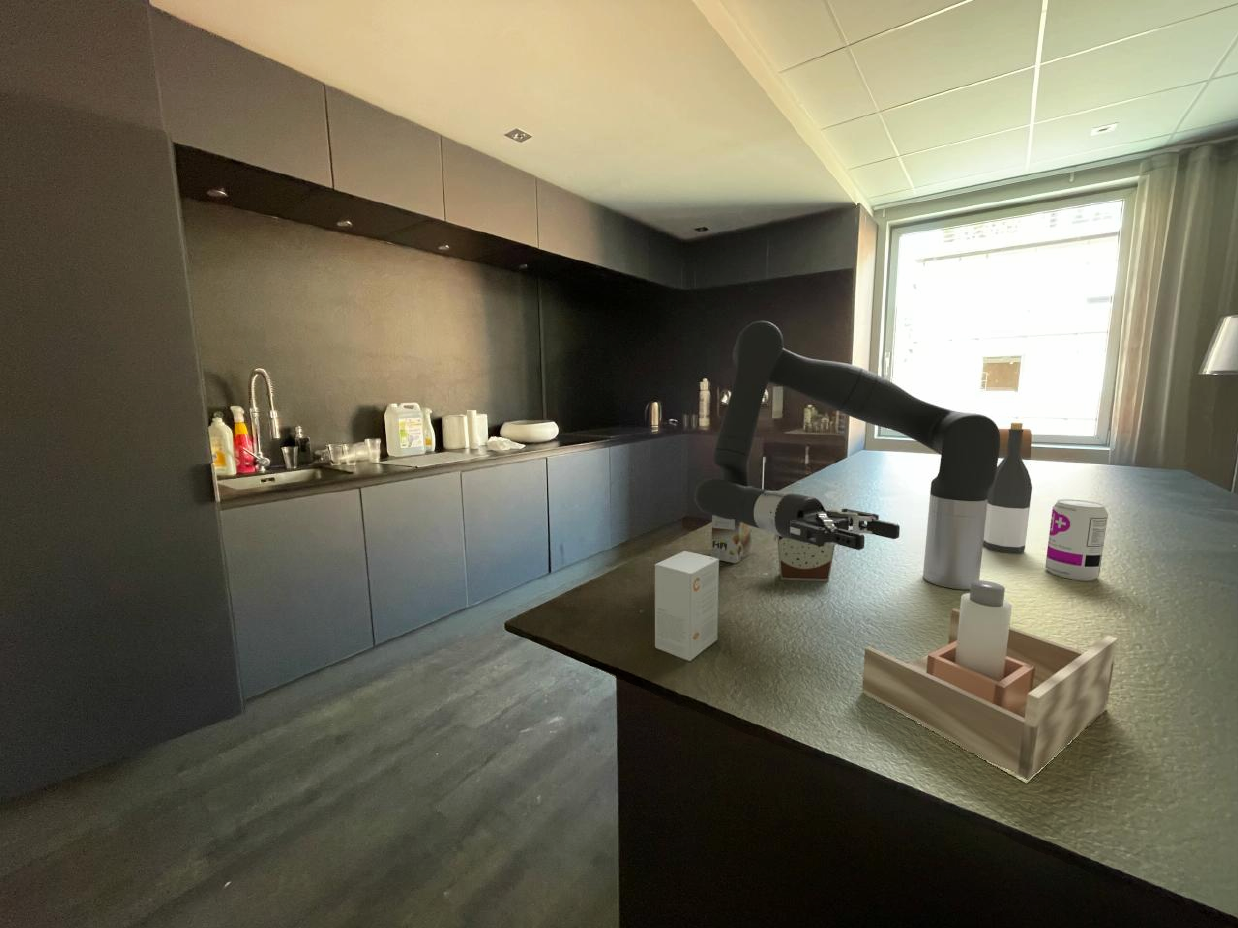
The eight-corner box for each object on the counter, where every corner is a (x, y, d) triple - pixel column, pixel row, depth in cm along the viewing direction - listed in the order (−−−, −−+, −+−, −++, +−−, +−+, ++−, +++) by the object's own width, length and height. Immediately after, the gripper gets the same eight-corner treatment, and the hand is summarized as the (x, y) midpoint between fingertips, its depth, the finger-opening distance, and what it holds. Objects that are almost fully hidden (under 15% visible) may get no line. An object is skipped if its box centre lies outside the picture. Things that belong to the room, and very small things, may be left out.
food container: (826, 569, 104) (829, 524, 102) (836, 580, 98) (839, 532, 96) (767, 568, 105) (768, 522, 104) (773, 578, 99) (775, 530, 98)
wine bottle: (973, 543, 121) (986, 422, 117) (1003, 542, 122) (1016, 421, 118) (1002, 554, 113) (1016, 424, 109) (1033, 553, 114) (1049, 423, 110)
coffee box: (736, 564, 107) (739, 492, 105) (710, 558, 111) (711, 489, 109) (752, 553, 115) (754, 485, 113) (726, 548, 119) (728, 482, 116)
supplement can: (1054, 578, 98) (1064, 505, 96) (1038, 565, 106) (1046, 497, 104) (1107, 584, 95) (1118, 509, 93) (1086, 570, 103) (1095, 500, 101)
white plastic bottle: (963, 678, 63) (974, 574, 61) (1007, 697, 59) (1021, 587, 57) (944, 689, 61) (955, 582, 59) (989, 711, 57) (1002, 596, 55)
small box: (682, 627, 79) (684, 549, 77) (718, 640, 75) (720, 558, 73) (653, 647, 73) (653, 563, 71) (689, 662, 69) (691, 573, 67)
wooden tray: (950, 646, 72) (956, 588, 71) (1106, 709, 58) (1117, 638, 57) (861, 692, 62) (866, 625, 60) (1027, 784, 47) (1038, 698, 46)
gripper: (758, 498, 79) (851, 519, 65) (816, 488, 86) (910, 504, 72) (758, 544, 80) (849, 573, 66) (814, 529, 87) (907, 553, 73)
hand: (881, 537), depth 69 cm, fingers open, 8 cm apart
